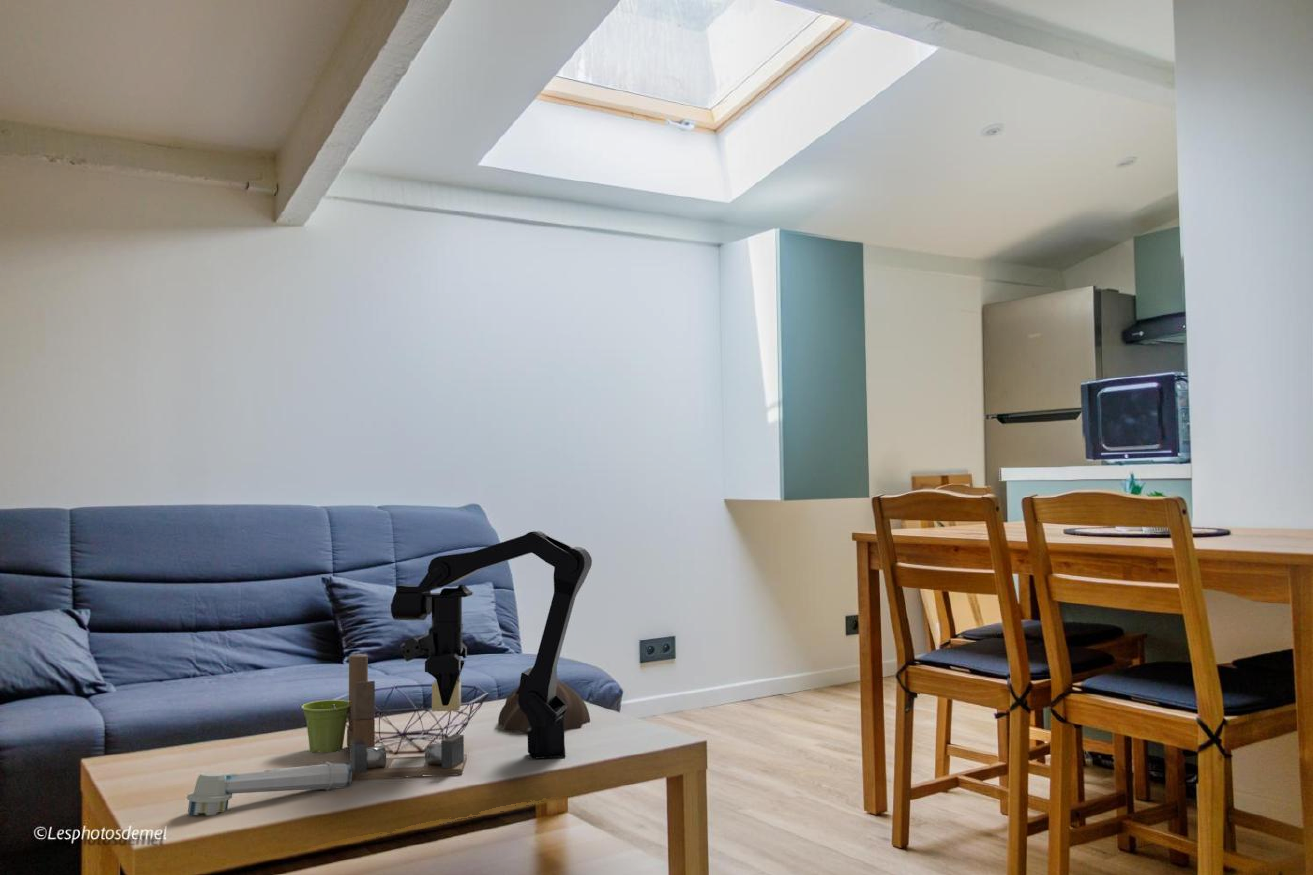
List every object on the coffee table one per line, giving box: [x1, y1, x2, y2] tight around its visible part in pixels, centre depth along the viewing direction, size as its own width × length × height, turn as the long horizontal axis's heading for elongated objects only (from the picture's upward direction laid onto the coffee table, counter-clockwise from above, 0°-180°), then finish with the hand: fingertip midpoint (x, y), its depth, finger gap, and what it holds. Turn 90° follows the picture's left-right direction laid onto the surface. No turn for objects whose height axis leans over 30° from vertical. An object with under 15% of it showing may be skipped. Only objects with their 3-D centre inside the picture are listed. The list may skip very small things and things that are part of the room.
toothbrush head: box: [186, 761, 352, 816], centre depth 156 cm, size 5×7×25 cm
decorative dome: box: [497, 679, 591, 735], centre depth 208 cm, size 19×20×10 cm
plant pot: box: [301, 699, 350, 754], centre depth 189 cm, size 9×9×9 cm
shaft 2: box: [424, 734, 465, 769], centre depth 172 cm, size 6×5×5 cm
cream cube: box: [431, 678, 462, 712], centre depth 185 cm, size 5×5×5 cm
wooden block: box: [346, 653, 376, 750], centre depth 187 cm, size 4×11×18 cm, turn 26°
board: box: [351, 753, 468, 781], centre depth 173 cm, size 20×10×1 cm, turn 97°
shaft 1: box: [349, 739, 387, 774], centre depth 170 cm, size 6×5×5 cm
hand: (446, 702), depth 185 cm, fingers closed on cream cube, 5 cm apart
